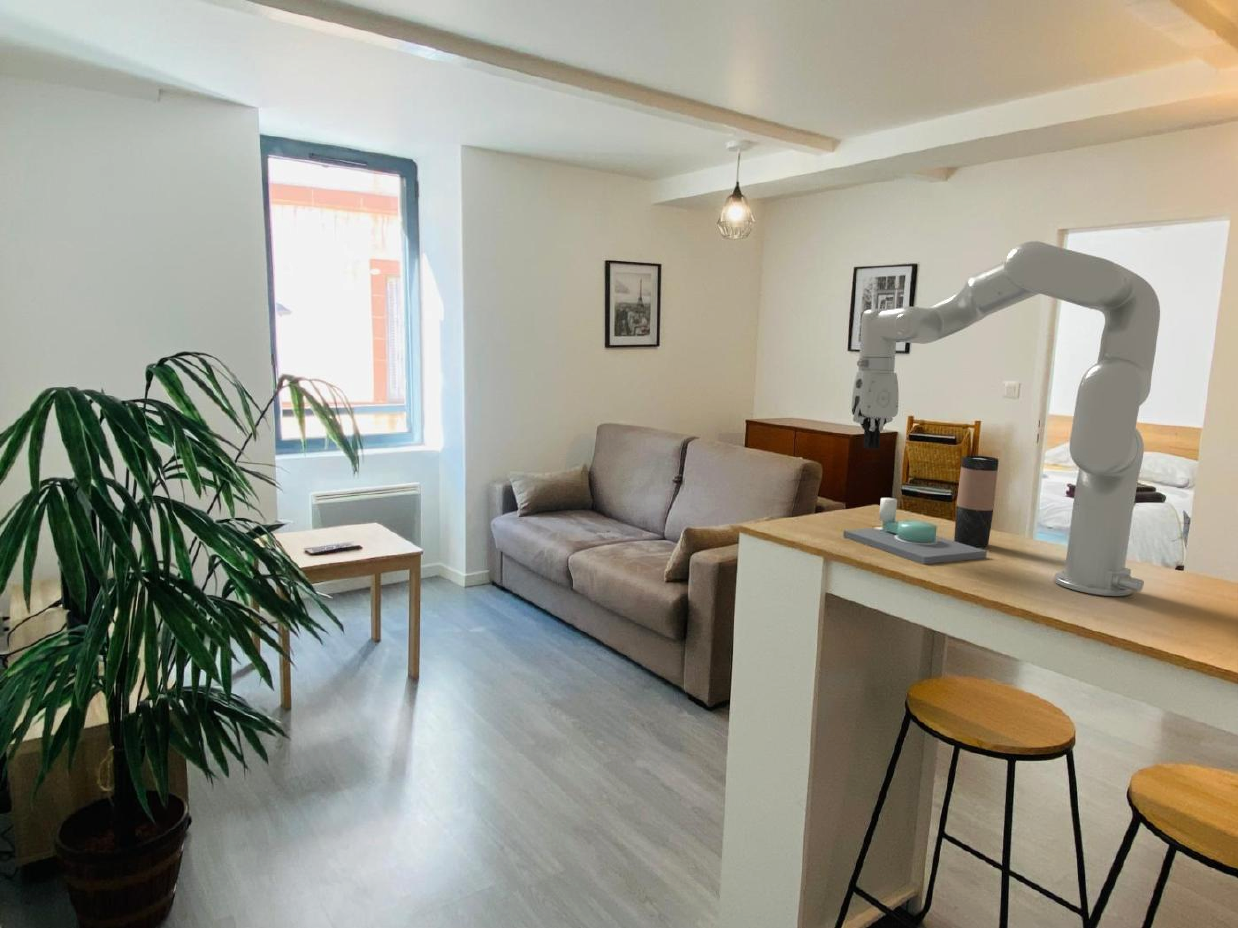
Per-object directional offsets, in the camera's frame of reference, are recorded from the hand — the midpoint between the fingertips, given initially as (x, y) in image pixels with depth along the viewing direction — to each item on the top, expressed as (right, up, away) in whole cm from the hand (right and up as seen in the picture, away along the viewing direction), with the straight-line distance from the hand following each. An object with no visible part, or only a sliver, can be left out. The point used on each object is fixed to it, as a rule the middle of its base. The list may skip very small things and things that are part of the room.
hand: (871, 448), depth 174 cm
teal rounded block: (+8, -19, +2) cm, 21 cm away
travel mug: (+24, -22, +4) cm, 33 cm away
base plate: (+9, -22, -1) cm, 24 cm away
